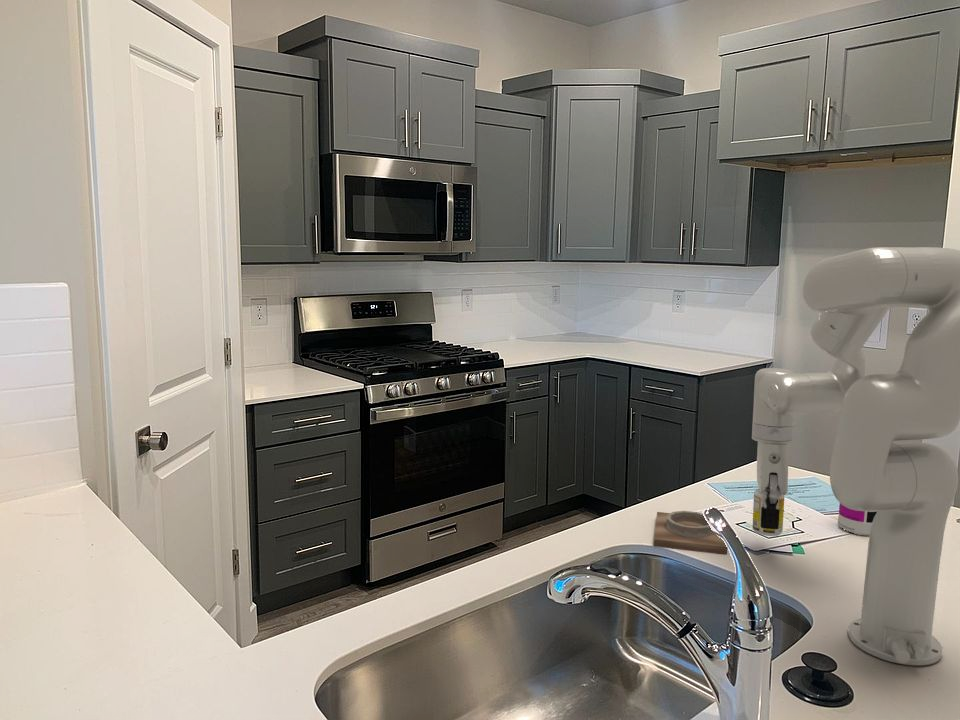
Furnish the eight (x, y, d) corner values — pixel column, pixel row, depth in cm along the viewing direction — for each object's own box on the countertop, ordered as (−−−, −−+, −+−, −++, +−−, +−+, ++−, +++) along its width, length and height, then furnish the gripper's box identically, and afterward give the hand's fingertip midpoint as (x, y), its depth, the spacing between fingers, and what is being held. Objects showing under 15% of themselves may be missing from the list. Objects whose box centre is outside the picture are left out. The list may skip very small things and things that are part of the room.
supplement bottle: (787, 532, 149) (790, 482, 148) (772, 539, 145) (775, 487, 144) (761, 525, 153) (764, 475, 152) (746, 531, 150) (749, 480, 148)
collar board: (726, 554, 149) (728, 537, 148) (653, 546, 152) (654, 529, 152) (723, 525, 164) (724, 509, 164) (656, 518, 168) (657, 503, 167)
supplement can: (842, 534, 160) (848, 465, 157) (834, 520, 168) (840, 455, 165) (884, 538, 158) (891, 469, 156) (874, 524, 166) (881, 458, 163)
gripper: (799, 443, 138) (794, 539, 140) (787, 424, 154) (782, 511, 156) (756, 441, 140) (751, 536, 142) (748, 422, 156) (744, 507, 158)
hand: (767, 521), depth 149 cm, fingers closed on supplement bottle, 5 cm apart
